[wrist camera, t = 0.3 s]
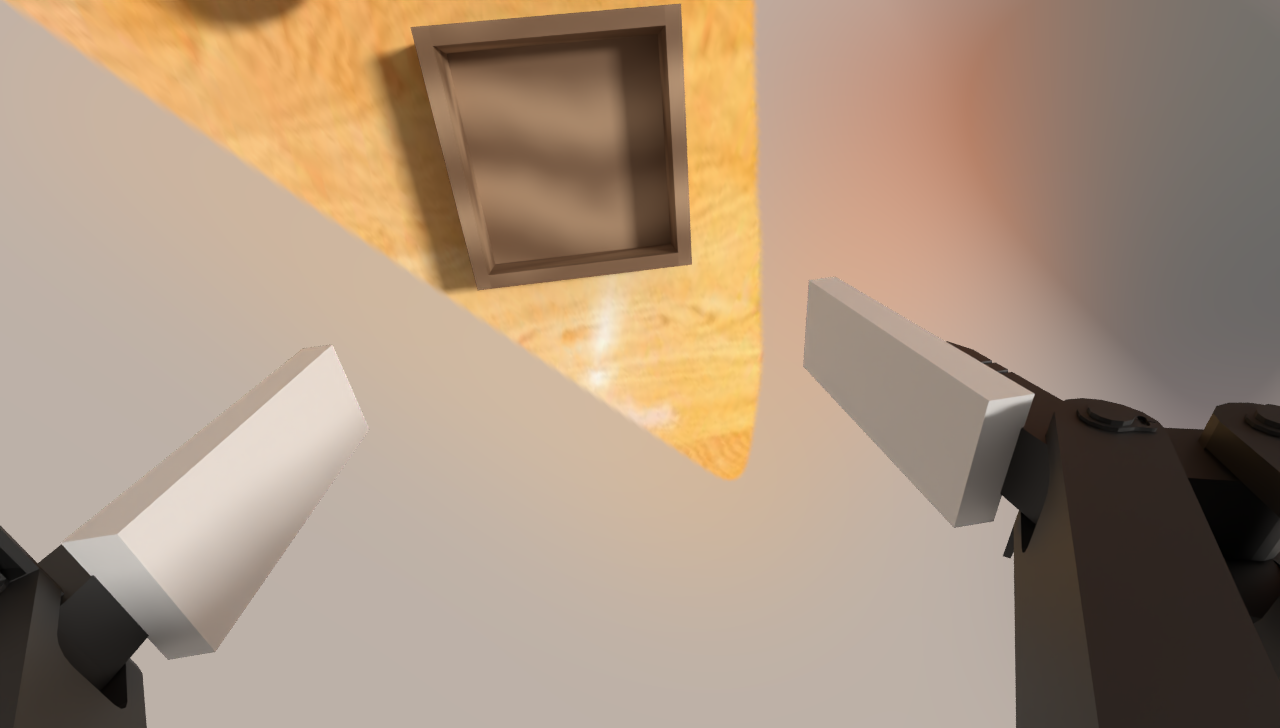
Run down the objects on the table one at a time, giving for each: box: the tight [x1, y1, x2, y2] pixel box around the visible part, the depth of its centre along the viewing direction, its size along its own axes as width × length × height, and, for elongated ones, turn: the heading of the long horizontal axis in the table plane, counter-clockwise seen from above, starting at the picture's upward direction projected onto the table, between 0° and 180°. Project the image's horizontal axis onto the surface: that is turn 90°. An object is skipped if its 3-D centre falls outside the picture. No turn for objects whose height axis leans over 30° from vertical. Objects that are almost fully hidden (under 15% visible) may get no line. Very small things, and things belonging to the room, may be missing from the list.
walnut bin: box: [411, 4, 692, 290], centre depth 34 cm, size 16×16×4 cm
